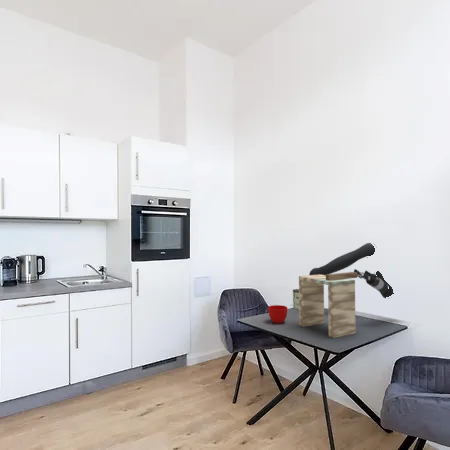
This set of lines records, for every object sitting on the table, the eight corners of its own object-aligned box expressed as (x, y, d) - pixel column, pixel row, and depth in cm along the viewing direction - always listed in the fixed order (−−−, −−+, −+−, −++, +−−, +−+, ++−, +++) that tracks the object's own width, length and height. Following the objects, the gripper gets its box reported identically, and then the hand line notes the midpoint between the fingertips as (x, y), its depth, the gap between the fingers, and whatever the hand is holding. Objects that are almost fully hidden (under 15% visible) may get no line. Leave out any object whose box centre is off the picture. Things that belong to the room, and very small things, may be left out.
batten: (325, 279, 210) (325, 274, 210) (352, 276, 221) (352, 271, 221) (330, 280, 206) (330, 275, 206) (357, 277, 217) (357, 272, 217)
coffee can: (304, 306, 279) (304, 288, 279) (307, 309, 268) (307, 291, 269) (291, 306, 279) (291, 289, 279) (294, 309, 268) (294, 291, 268)
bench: (299, 325, 225) (298, 276, 225) (319, 321, 234) (319, 274, 234) (333, 337, 199) (333, 282, 199) (355, 333, 207) (354, 280, 207)
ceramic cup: (286, 318, 243) (286, 304, 243) (288, 324, 226) (288, 309, 226) (267, 317, 244) (267, 303, 244) (268, 324, 227) (268, 309, 227)
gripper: (367, 275, 235) (353, 264, 228) (386, 278, 222) (371, 266, 215) (364, 285, 233) (349, 275, 226) (382, 288, 220) (367, 277, 214)
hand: (359, 271), depth 221 cm, fingers open, 8 cm apart
